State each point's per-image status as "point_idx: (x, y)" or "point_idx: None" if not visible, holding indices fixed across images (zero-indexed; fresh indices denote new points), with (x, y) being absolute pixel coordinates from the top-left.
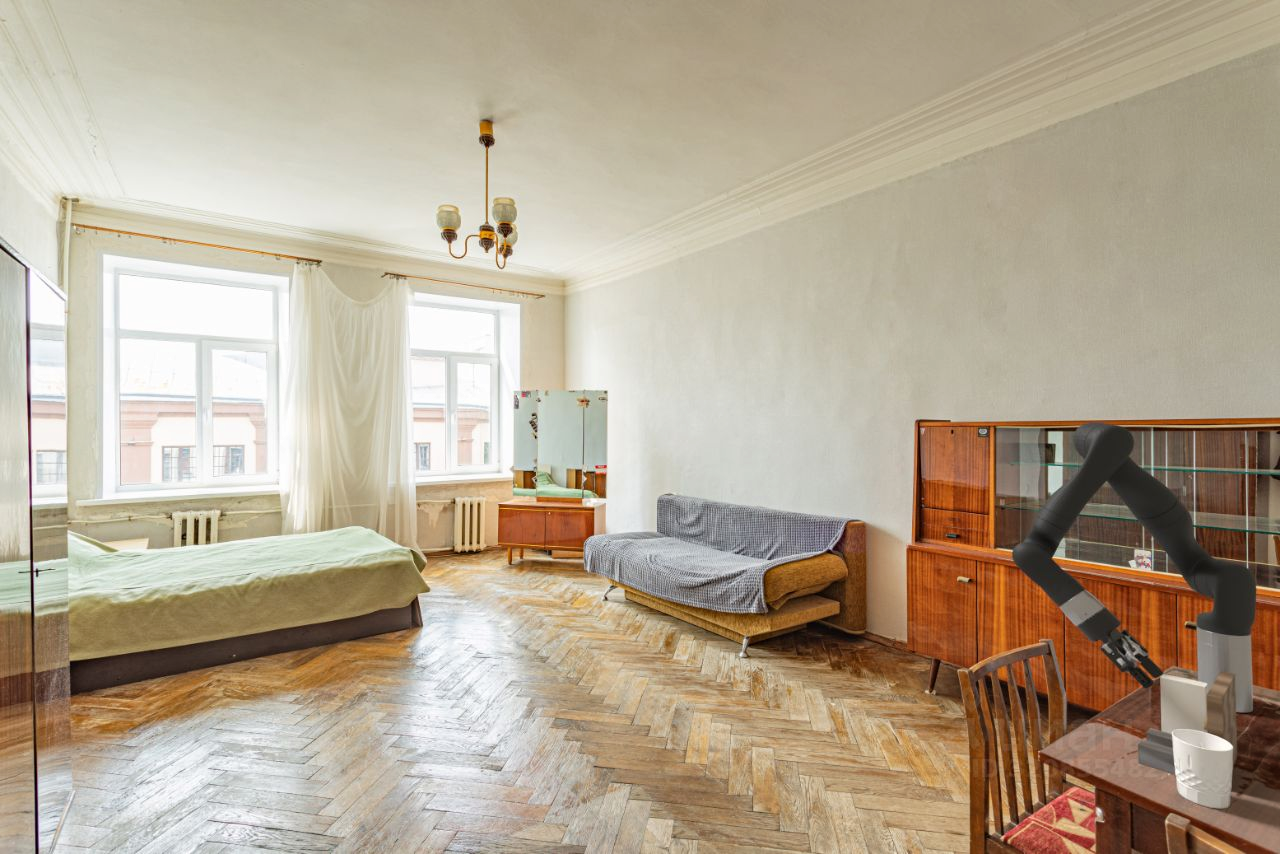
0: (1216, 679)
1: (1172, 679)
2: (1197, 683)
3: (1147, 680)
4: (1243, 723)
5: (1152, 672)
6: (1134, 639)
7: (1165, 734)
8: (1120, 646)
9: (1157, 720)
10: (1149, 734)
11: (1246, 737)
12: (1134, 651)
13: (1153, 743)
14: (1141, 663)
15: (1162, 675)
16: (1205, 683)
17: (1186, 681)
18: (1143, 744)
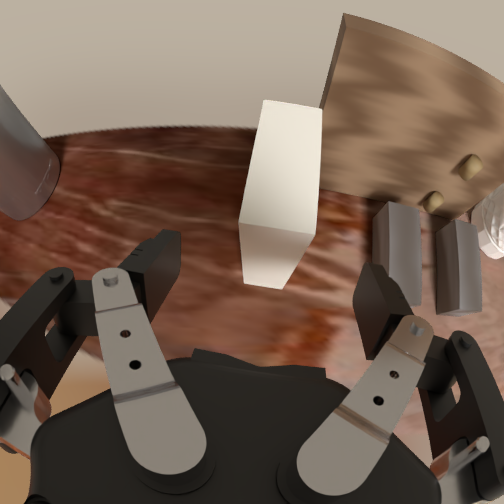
0: (453, 66)
1: (310, 190)
2: (293, 121)
3: (395, 284)
4: (104, 156)
5: (172, 273)
6: (10, 334)
7: (403, 268)
8: (404, 448)
9: (180, 297)
10: (419, 299)
11: (177, 150)
12: (209, 353)
13: (462, 287)
14: (150, 315)
15: (274, 225)
16: (270, 103)
17: (296, 148)
18: (477, 302)
